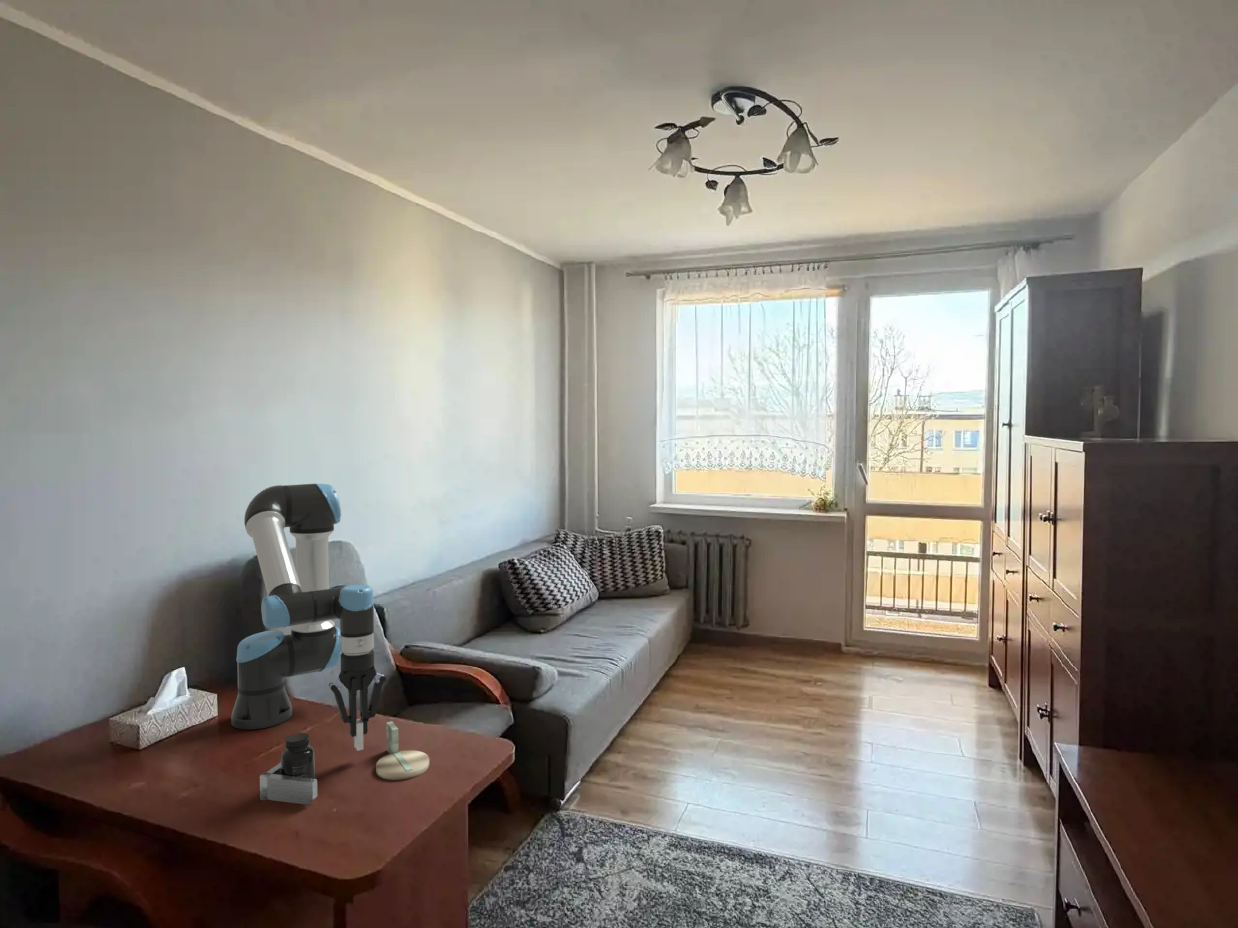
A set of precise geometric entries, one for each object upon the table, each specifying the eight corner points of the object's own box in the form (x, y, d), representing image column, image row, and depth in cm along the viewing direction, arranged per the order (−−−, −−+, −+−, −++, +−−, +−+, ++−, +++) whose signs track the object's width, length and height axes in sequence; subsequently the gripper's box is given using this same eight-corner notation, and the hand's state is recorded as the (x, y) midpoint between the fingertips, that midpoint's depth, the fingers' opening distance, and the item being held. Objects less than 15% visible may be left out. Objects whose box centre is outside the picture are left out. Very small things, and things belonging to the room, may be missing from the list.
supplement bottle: (320, 782, 165) (319, 731, 164) (306, 797, 158) (305, 744, 157) (290, 781, 165) (289, 730, 164) (275, 797, 158) (274, 743, 157)
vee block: (254, 781, 165) (254, 760, 165) (303, 769, 170) (302, 749, 170) (266, 817, 150) (265, 794, 149) (318, 803, 155) (318, 781, 155)
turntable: (364, 755, 175) (364, 727, 175) (413, 743, 182) (413, 716, 181) (384, 784, 161) (383, 754, 161) (436, 770, 168) (436, 741, 167)
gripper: (331, 660, 164) (333, 760, 166) (389, 650, 172) (390, 747, 173) (325, 651, 171) (326, 748, 172) (381, 642, 178) (382, 735, 179)
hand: (358, 747), depth 172 cm, fingers closed
